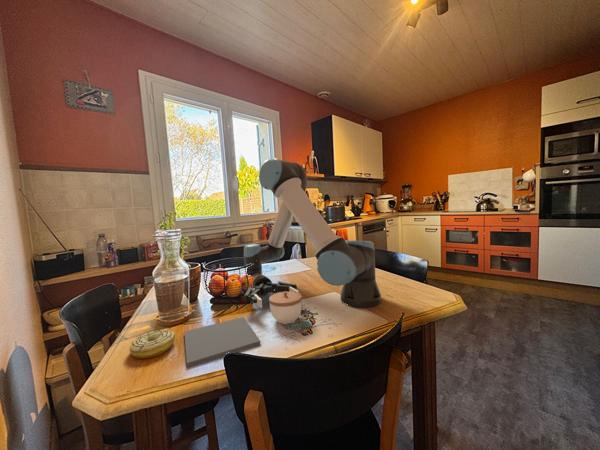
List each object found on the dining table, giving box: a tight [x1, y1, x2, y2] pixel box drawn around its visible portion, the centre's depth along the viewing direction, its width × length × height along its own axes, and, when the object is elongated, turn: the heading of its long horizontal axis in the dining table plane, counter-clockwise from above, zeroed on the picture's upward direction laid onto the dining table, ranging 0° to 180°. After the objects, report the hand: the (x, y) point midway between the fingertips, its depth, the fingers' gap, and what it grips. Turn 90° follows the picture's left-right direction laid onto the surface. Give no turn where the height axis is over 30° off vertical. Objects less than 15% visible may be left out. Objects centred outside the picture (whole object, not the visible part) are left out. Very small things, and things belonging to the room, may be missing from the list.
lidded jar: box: [268, 291, 303, 325], centre depth 79 cm, size 11×11×9 cm
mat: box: [183, 316, 261, 368], centre depth 69 cm, size 18×18×1 cm
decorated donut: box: [129, 329, 176, 359], centre depth 66 cm, size 10×11×4 cm
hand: (280, 299), depth 82 cm, fingers open, 13 cm apart
